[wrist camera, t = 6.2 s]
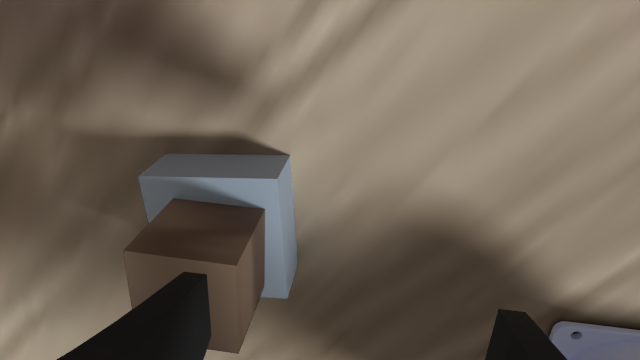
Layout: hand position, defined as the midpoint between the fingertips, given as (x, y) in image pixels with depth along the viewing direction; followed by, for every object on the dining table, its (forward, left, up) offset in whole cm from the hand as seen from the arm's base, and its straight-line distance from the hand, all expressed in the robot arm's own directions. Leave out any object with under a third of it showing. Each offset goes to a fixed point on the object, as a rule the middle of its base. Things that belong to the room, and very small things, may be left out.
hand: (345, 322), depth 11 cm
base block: (+6, +3, -10) cm, 12 cm away
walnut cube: (+6, +3, -7) cm, 10 cm away
